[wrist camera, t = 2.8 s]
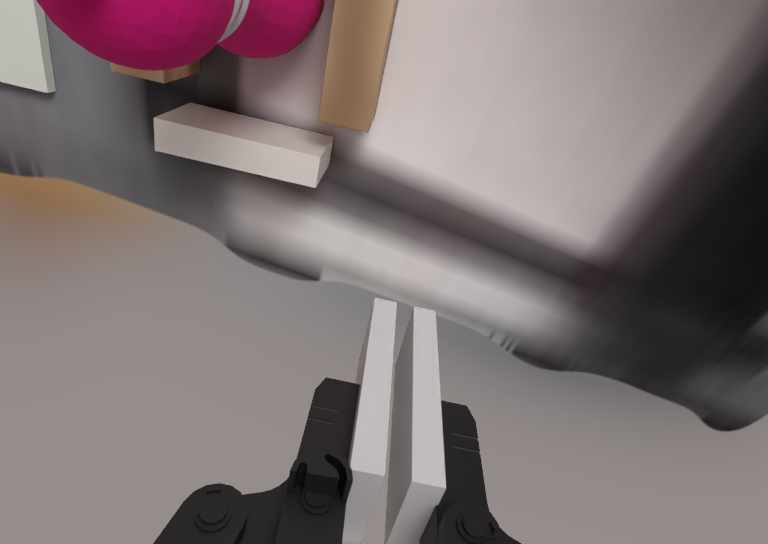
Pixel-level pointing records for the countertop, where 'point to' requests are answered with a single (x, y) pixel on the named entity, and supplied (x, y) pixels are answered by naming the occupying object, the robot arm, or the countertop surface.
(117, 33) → the pepper mill
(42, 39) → the plate
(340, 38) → the block
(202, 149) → the white rectangular block
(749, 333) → the countertop surface
